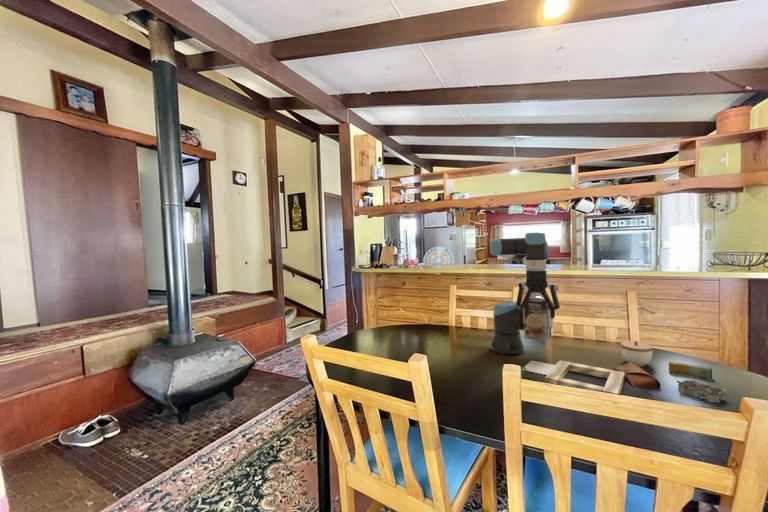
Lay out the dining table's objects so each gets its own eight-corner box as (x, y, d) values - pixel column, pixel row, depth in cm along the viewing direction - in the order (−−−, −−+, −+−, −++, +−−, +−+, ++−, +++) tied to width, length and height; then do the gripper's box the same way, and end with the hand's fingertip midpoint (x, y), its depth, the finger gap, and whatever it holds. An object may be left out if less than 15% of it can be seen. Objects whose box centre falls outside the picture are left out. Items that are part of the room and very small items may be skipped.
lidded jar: (659, 368, 128) (658, 345, 128) (628, 367, 130) (628, 345, 130) (643, 358, 139) (643, 337, 138) (615, 358, 141) (615, 337, 140)
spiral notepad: (521, 370, 133) (521, 369, 133) (531, 361, 142) (531, 360, 142) (548, 376, 126) (547, 374, 126) (556, 366, 135) (556, 365, 135)
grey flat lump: (674, 391, 110) (674, 379, 110) (687, 387, 113) (687, 375, 112) (715, 405, 100) (715, 392, 100) (728, 400, 103) (728, 387, 102)
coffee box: (523, 338, 134) (522, 300, 133) (529, 334, 139) (528, 297, 138) (547, 342, 128) (546, 302, 127) (552, 338, 132) (551, 299, 132)
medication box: (712, 378, 118) (711, 367, 118) (713, 380, 116) (712, 369, 116) (668, 371, 126) (668, 360, 126) (668, 373, 124) (668, 362, 124)
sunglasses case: (609, 367, 131) (618, 354, 130) (626, 376, 130) (635, 363, 129) (633, 387, 113) (644, 372, 113) (653, 398, 112) (664, 382, 111)
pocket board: (545, 383, 120) (544, 377, 120) (559, 366, 135) (559, 360, 135) (617, 401, 105) (617, 393, 105) (624, 378, 121) (624, 372, 120)
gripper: (506, 270, 137) (508, 322, 137) (563, 271, 122) (564, 330, 123) (512, 268, 142) (514, 319, 143) (568, 269, 128) (569, 325, 128)
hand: (537, 324), depth 133 cm, fingers closed on coffee box, 9 cm apart
